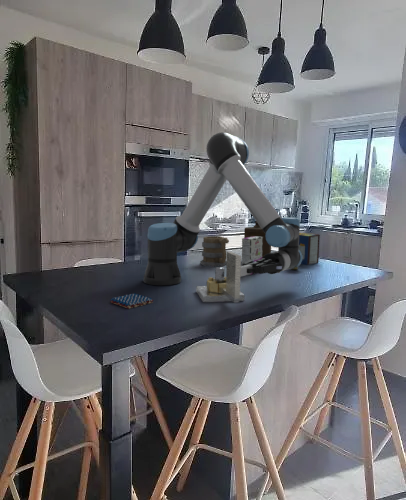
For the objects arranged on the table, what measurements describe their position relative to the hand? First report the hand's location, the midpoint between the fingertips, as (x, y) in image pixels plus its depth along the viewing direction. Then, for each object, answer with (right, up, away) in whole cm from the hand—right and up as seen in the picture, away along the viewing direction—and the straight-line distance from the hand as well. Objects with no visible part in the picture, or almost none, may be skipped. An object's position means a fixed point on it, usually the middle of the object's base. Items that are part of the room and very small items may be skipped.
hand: (238, 271), depth 115 cm
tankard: (-4, -1, +74) cm, 74 cm away
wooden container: (+19, +1, +89) cm, 91 cm away
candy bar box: (+11, -4, +57) cm, 58 cm away
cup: (+33, -3, +66) cm, 74 cm away
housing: (-5, -9, +15) cm, 19 cm away
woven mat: (-34, -11, +6) cm, 36 cm away
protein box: (+42, 0, +87) cm, 97 cm away
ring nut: (-4, -8, +8) cm, 12 cm away
